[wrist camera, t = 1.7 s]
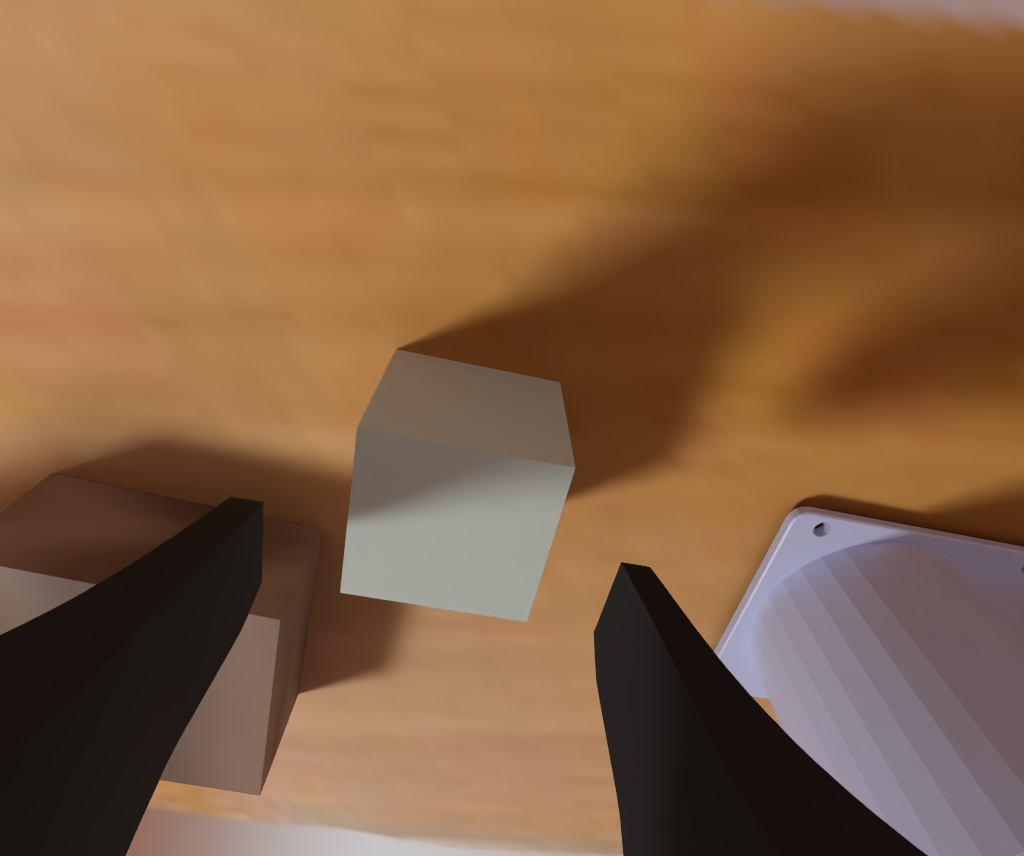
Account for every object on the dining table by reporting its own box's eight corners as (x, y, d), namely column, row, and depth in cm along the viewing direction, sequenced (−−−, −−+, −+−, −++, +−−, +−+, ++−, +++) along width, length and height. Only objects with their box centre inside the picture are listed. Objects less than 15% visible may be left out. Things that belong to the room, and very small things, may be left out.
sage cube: (560, 381, 16) (575, 467, 12) (523, 511, 18) (526, 622, 14) (396, 347, 16) (357, 427, 12) (378, 485, 18) (339, 592, 14)
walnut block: (324, 524, 19) (280, 619, 15) (300, 687, 22) (259, 795, 19) (59, 468, 18) (-55, 555, 14) (78, 648, 21) (-8, 753, 18)
